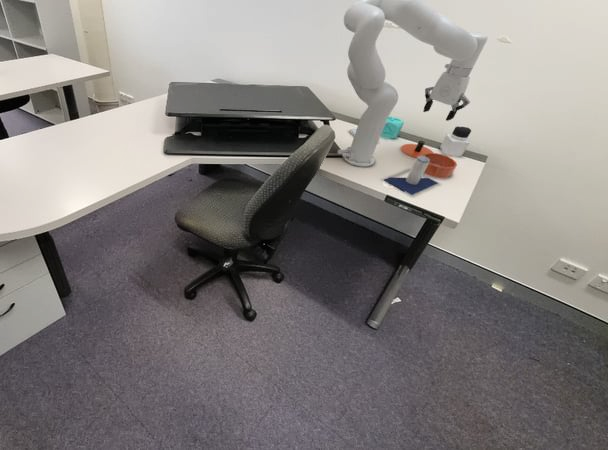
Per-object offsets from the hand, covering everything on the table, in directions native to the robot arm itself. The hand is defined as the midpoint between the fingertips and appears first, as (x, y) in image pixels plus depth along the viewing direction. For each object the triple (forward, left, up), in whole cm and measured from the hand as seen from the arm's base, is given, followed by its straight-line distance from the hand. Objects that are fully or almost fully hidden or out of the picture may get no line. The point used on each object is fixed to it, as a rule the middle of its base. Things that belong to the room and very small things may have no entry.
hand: (436, 115), depth 133 cm
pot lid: (+2, +3, -18) cm, 19 cm away
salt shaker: (-12, -21, -19) cm, 30 cm away
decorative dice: (-4, +20, -19) cm, 28 cm away
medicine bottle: (+18, +4, -19) cm, 26 cm away
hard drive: (-17, +18, -19) cm, 32 cm away
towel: (-12, -21, -19) cm, 30 cm away
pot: (+2, -12, -19) cm, 22 cm away
